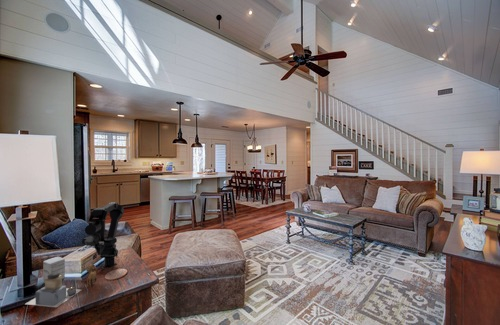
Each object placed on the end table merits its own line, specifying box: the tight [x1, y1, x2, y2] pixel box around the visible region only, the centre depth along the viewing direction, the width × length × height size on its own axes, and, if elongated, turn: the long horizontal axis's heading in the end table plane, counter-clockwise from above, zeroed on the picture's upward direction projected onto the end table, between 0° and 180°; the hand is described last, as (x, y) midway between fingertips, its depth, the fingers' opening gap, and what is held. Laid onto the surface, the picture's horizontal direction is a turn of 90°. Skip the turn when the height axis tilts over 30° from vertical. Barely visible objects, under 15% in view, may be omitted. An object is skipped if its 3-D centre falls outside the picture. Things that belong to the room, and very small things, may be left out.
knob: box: [44, 272, 63, 291], centre depth 109 cm, size 4×5×12 cm
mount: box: [25, 285, 82, 308], centre depth 112 cm, size 14×17×8 cm
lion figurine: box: [85, 263, 98, 289], centre depth 125 cm, size 15×5×9 cm, turn 38°
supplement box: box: [42, 256, 66, 284], centre depth 127 cm, size 7×7×13 cm
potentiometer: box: [67, 286, 77, 297], centre depth 114 cm, size 4×4×3 cm
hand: (99, 254), depth 133 cm, fingers closed
